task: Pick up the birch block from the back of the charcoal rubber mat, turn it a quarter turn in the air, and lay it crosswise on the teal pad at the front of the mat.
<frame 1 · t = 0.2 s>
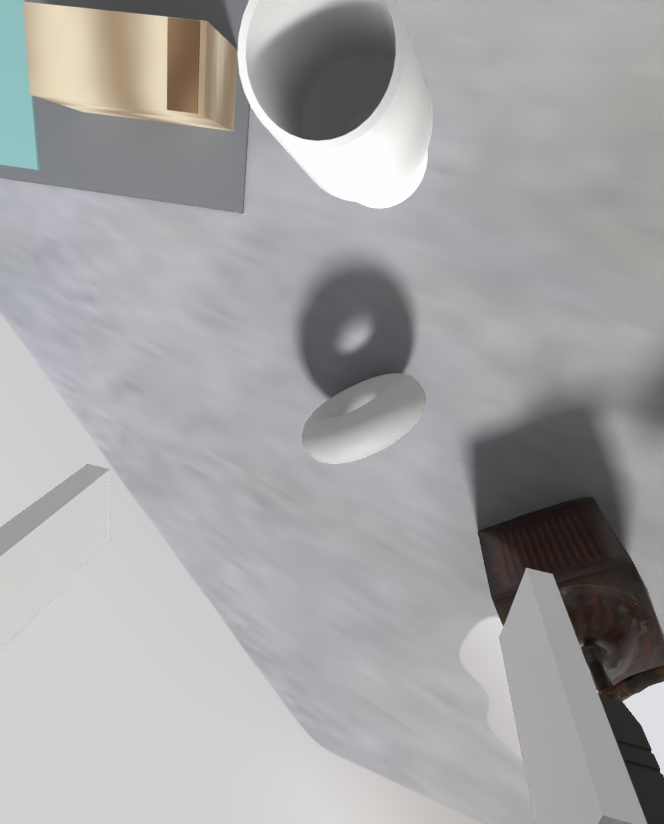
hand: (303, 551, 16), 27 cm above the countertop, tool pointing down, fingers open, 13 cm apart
champagne flute: (381, 158, 36), on the countertop
rubber mat: (76, 65, 37), on the countertop
birch block: (156, 82, 36), resting on rubber mat
manual coffee grinder: (581, 551, 45), on the countertop
donut: (369, 395, 43), on the countertop
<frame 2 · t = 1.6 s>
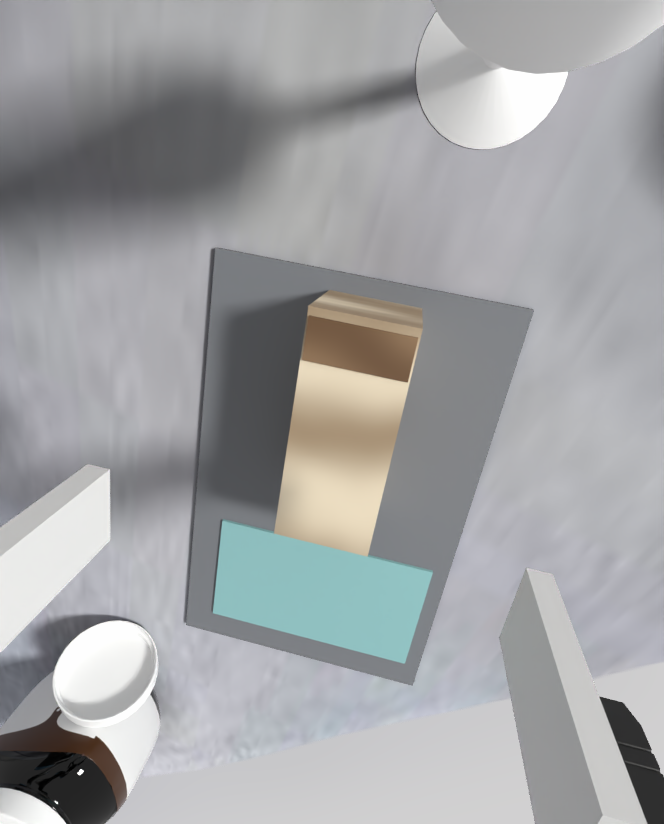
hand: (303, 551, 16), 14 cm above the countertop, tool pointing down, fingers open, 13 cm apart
champagne flute: (490, 67, 22), on the countertop
rubber mat: (328, 494, 31), on the countertop
birch block: (354, 403, 29), resting on rubber mat
spread jar: (119, 666, 41), on the countertop
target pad: (316, 592, 34), resting on rubber mat
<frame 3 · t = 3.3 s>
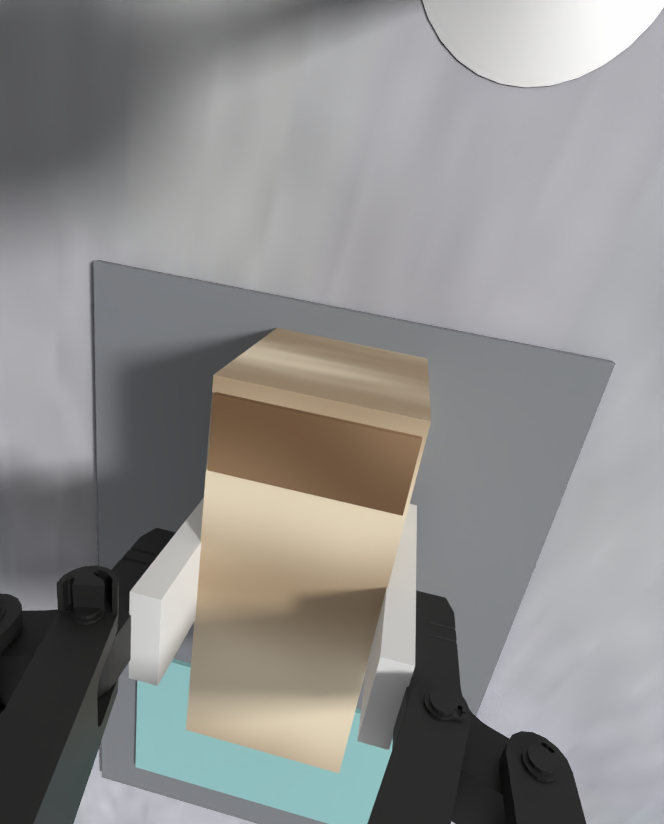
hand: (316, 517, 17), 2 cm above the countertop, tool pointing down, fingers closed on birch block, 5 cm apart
rubber mat: (288, 622, 21), on the countertop
birch block: (322, 499, 18), resting on rubber mat, touching gripper
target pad: (276, 749, 24), resting on rubber mat
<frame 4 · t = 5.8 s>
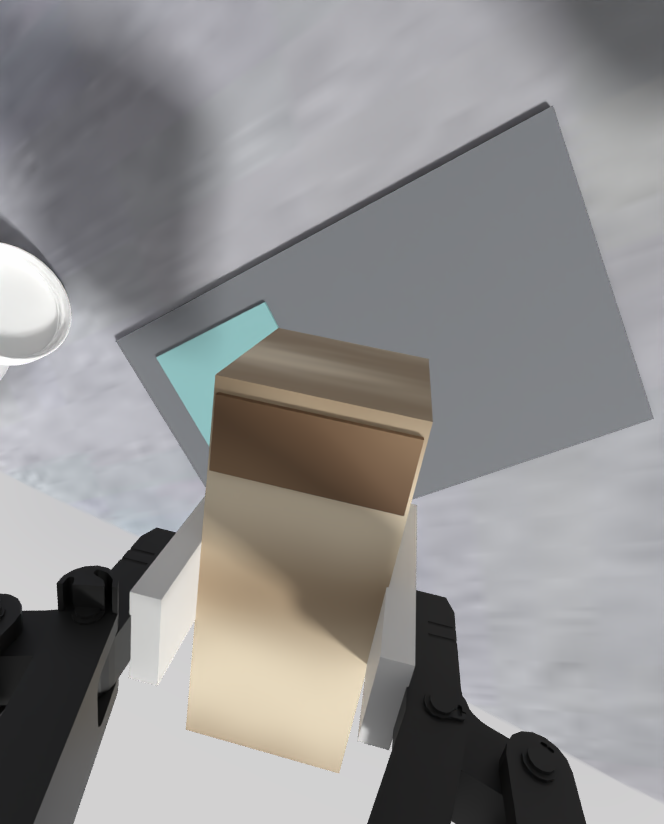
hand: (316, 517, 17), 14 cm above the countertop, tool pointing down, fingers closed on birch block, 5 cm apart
rubber mat: (368, 375, 30), on the countertop
birch block: (323, 499, 18), point 13 cm above the countertop, touching gripper
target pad: (264, 429, 32), resting on rubber mat
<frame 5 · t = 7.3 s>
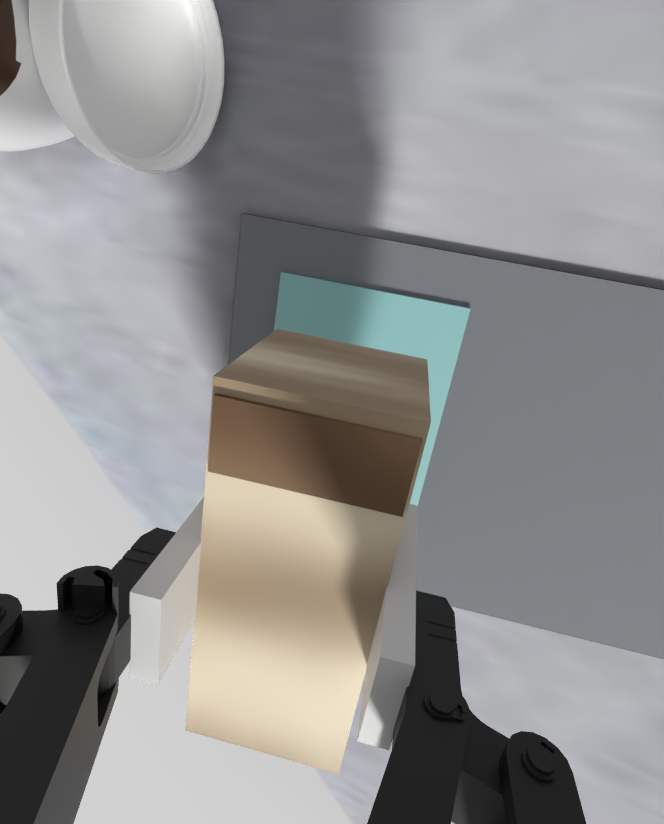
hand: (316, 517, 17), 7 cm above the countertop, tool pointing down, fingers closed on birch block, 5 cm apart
rubber mat: (508, 462, 23), on the countertop
birch block: (322, 499, 18), point 6 cm above the countertop, touching gripper
spread jar: (92, 33, 20), on the countertop
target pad: (345, 439, 23), resting on rubber mat
when the fingers open (3 cm above the countertop, at t = 8.3 s): birch block drops 1 cm, resting on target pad.
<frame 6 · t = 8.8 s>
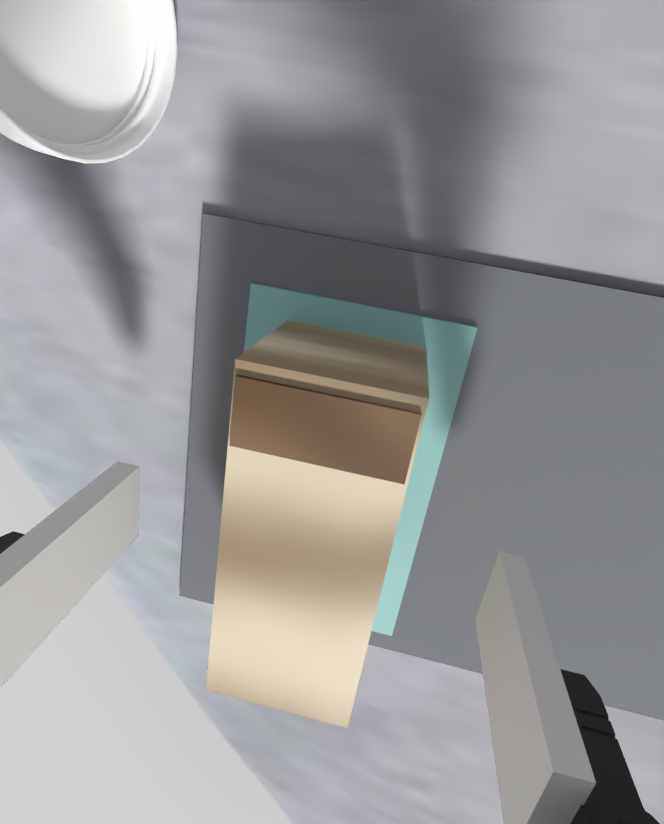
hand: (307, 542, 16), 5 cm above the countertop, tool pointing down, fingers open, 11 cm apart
rubber mat: (520, 505, 19), on the countertop
birch block: (329, 480, 20), resting on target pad
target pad: (330, 477, 20), resting on rubber mat
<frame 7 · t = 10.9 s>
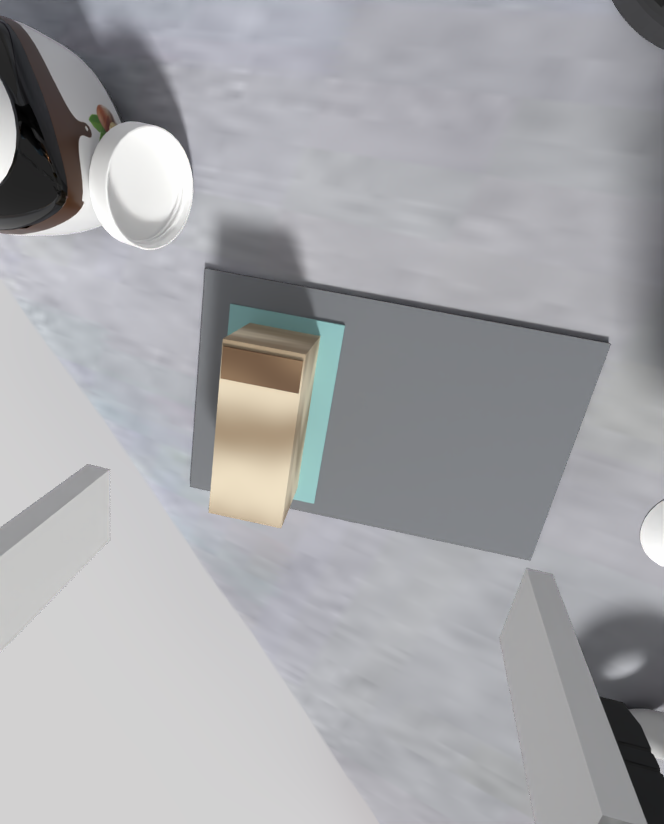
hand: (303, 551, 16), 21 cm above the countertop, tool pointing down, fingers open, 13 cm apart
rubber mat: (377, 421, 36), on the countertop
birch block: (274, 410, 36), resting on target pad
donut: (624, 712, 42), on the countertop
spread jar: (113, 162, 33), on the countertop
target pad: (275, 409, 37), resting on rubber mat
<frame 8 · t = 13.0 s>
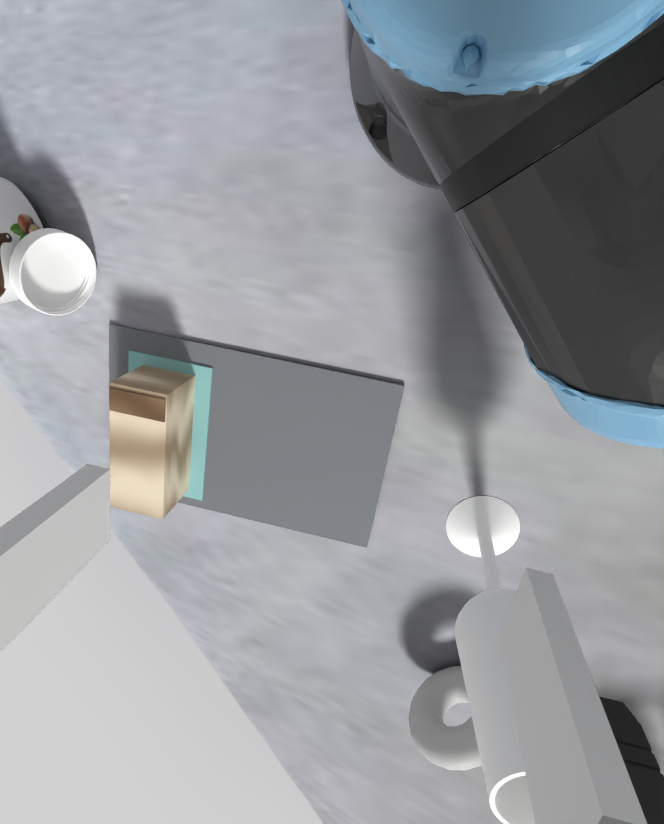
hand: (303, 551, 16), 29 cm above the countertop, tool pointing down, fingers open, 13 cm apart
champagne flute: (482, 526, 47), on the countertop
rubber mat: (244, 439, 47), on the countertop
birch block: (167, 429, 48), resting on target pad
donut: (454, 669, 53), on the countertop
spread jar: (39, 246, 44), on the countertop
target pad: (168, 428, 48), resting on rubber mat
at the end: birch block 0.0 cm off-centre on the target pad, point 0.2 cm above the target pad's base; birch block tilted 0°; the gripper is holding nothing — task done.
